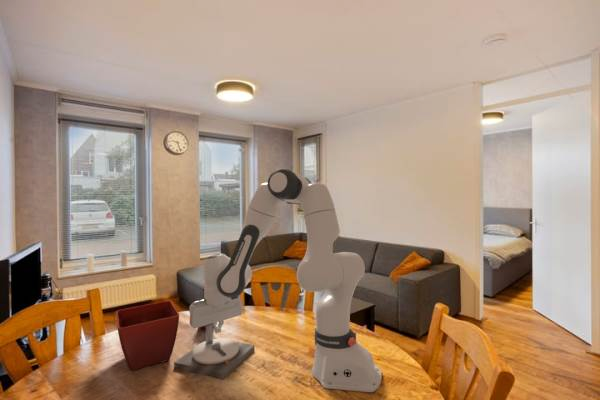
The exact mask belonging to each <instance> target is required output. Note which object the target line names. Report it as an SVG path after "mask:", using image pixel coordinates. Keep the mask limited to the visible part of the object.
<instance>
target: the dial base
mask: <svg viewBox="0 0 600 400" xmlns="http://www.w3.org/2000/svg"><path fill="white" fill-rule="evenodd" d="M216 338H217V337H213V339H216ZM205 341H206V340H205ZM205 341H203V342H205ZM236 342H237V343H238V345H239V352H238V354H237V355H236V356H235V357H234V358H232V359H230V360H227V361H225V362H223V363H219V364H201V363H198V362H196V361H195V360H194V359H193V350H194V348H193V349H191V350H190V351H189V352H187V353H186V354H184V355H183V356H181V357H180V358H178V359H177V360H175V361H173V367H174V369H176V370H180V371H185V372H189V373H192V374H193V373H194V374H197V375H202V376H206V377H209V378H215V379H219V380H223V381H224V380H225V379H226V378H227V377H228V376H230V374H231V373H233V371H234V370H236V369H237V368H238V366H240V365H241V364H242V363H243V362H244V361H245V360H246V359H247V358H248V357H249V356H251V354H252V353H253V352H254V351H255V344H252V343H251V344H250V343H246V342H245V343H244V342H241V341H236Z"/></svg>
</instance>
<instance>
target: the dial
mask: <svg viewBox="0 0 600 400" xmlns="http://www.w3.org/2000/svg"><path fill="white" fill-rule="evenodd" d="M213 338H214V328H213V323H212V324H208V325H206V332H205V342H204V341H202V342H201V343H199V344H197V345H196V346H195V347H194V348H193V349H194V350H193V349H192V350H193V359H194V360H195V361H196V362H198V363H201V364H219V363H223V362H225V361H227V360H230V359H232V358H234V357H235V356H236V355H237V354H238V352H239V345H238V343H237V342H238V341H236V340H235V339H232V338H228V337H227V338H226V337H219V338H218V337H215V338H216V339H213Z"/></svg>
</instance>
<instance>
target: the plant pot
mask: <svg viewBox="0 0 600 400" xmlns="http://www.w3.org/2000/svg"><path fill="white" fill-rule="evenodd" d="M115 315H116V323H117V324H116V325H117V333H118V339H119V343H120V347H121V351H122V353H123V356H124V360H125V363H126V364H127V366H128V370H130V371H136V370H138V369H143V368H145V367H150V366H153V365H156V364H159V363H164V362H167V361H169V360H170V359H171V356H172V354H173V351H174V347H175V345H176V343H175V342H176V340H177V334H178V329H179V323H180V321H179V320H180V313H179V312H178V310H177V308H176V307H175V305H174V304H173V302H172V301H171V300H166V301H165V300H164V301H159V302H154V303H149V304H144V305H138V306H132V307H128V308H123V309H121V308H120V309H118V310H116V311H115Z"/></svg>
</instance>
